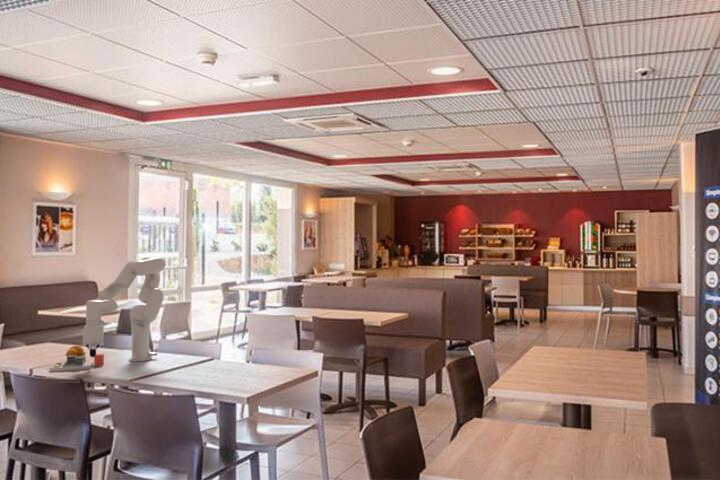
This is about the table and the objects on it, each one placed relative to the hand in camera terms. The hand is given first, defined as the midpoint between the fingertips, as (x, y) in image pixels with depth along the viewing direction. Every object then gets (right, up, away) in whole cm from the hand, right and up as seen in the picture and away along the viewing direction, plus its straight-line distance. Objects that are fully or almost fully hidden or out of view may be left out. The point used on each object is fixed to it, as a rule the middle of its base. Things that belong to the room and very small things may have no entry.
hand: (92, 356), depth 331 cm
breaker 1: (-13, -4, +3) cm, 14 cm away
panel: (-11, -6, 0) cm, 13 cm away
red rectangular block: (0, -6, +9) cm, 11 cm away
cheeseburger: (-17, -7, +19) cm, 26 cm away
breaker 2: (-7, -4, -1) cm, 8 cm away
